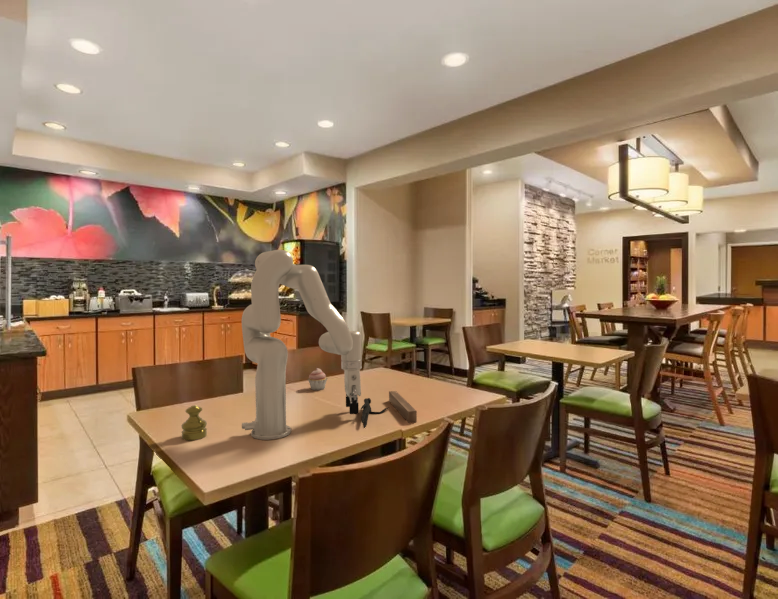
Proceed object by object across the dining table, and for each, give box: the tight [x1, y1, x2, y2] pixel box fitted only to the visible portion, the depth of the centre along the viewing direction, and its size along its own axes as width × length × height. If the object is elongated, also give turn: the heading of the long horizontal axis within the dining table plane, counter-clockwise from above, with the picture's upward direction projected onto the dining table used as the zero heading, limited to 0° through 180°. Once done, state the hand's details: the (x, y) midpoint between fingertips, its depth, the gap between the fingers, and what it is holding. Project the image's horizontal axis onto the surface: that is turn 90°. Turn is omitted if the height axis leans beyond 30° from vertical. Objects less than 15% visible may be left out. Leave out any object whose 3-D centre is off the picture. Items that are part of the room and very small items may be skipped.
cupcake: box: [307, 367, 328, 391], centre depth 206 cm, size 9×9×10 cm
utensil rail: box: [388, 390, 418, 424], centre depth 170 cm, size 3×30×4 cm, turn 13°
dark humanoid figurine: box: [359, 397, 390, 429], centre depth 162 cm, size 8×9×25 cm
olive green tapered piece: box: [181, 404, 208, 441], centre depth 142 cm, size 7×7×10 cm
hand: (352, 410), depth 165 cm, fingers open, 9 cm apart
